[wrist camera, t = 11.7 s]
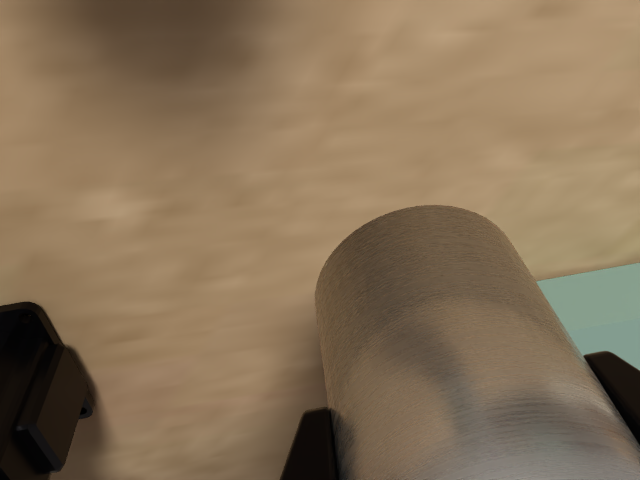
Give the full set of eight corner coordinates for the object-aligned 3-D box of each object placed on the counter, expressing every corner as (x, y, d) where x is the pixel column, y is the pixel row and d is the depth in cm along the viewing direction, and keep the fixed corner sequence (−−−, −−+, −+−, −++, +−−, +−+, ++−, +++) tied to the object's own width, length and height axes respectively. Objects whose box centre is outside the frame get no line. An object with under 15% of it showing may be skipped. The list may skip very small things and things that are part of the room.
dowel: (334, 382, 13) (421, 970, 6) (295, 231, 10) (366, 906, 4) (518, 345, 13) (809, 903, 6) (519, 184, 10) (989, 798, 4)
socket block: (433, 471, 31) (448, 525, 29) (419, 302, 25) (438, 354, 22) (657, 431, 31) (691, 482, 29) (706, 250, 24) (756, 297, 22)
